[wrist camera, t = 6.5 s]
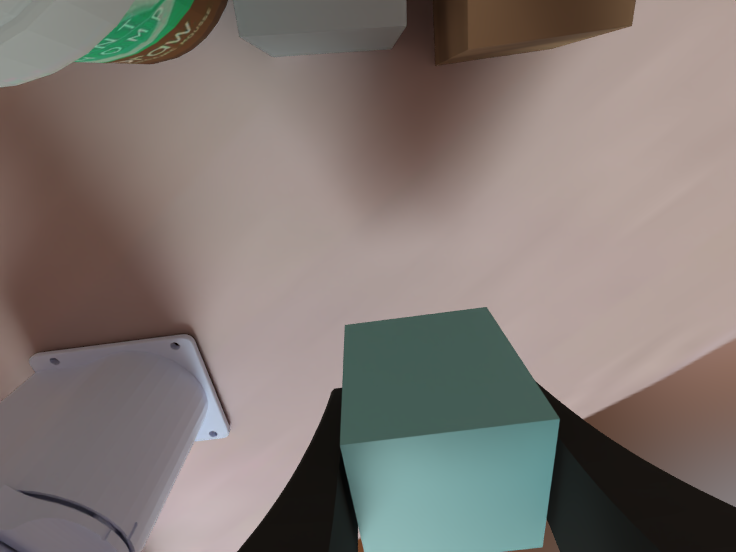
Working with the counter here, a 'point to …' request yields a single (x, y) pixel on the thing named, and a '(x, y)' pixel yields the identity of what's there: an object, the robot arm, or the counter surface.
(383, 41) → the slate-grey block
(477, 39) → the brass block
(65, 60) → the food container
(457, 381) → the teal block
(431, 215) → the counter surface
